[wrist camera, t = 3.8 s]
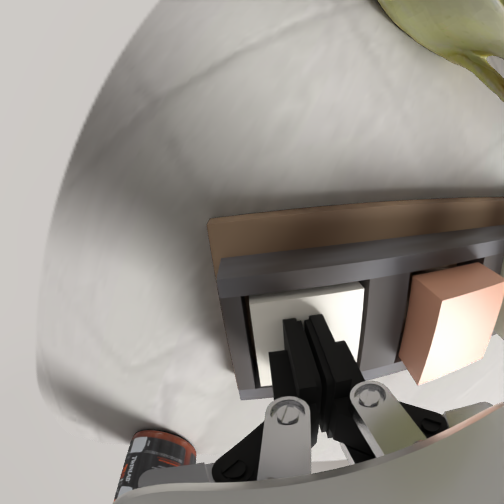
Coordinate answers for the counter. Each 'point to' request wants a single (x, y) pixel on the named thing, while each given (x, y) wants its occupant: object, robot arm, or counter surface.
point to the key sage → (500, 313)
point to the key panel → (347, 265)
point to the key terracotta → (449, 319)
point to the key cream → (305, 317)
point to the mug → (456, 32)
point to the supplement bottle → (153, 456)
